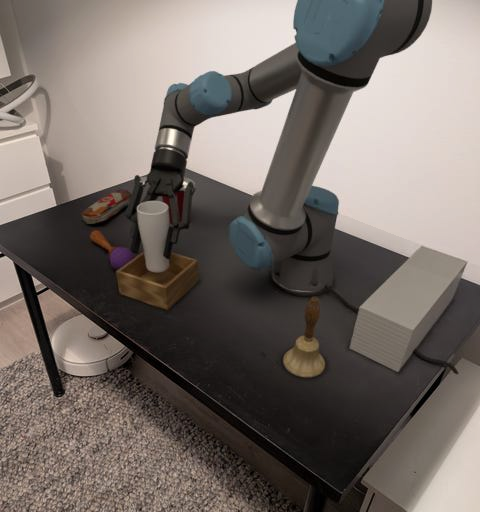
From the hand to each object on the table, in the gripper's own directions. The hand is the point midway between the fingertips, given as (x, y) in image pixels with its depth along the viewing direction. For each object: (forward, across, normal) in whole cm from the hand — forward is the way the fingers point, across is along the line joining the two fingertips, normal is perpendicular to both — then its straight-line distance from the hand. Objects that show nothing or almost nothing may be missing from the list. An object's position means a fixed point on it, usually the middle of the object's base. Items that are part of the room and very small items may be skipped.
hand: (150, 254), depth 99 cm
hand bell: (+17, -36, +2) cm, 40 cm away
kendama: (-1, +17, -17) cm, 24 cm away
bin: (+5, 0, -10) cm, 11 cm away
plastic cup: (-19, +7, -35) cm, 41 cm away
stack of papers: (+4, -57, -11) cm, 58 cm away
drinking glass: (+2, 0, -6) cm, 7 cm away
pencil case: (-18, +28, -34) cm, 48 cm away
